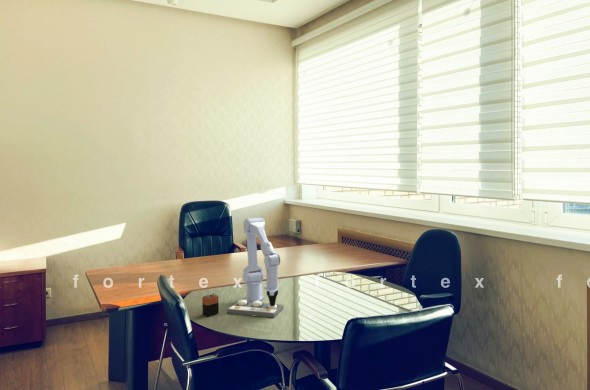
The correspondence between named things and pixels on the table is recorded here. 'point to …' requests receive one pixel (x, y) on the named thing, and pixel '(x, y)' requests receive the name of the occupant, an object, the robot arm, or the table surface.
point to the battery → (210, 305)
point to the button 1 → (242, 302)
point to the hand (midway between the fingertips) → (272, 305)
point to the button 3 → (272, 307)
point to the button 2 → (257, 304)
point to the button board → (255, 310)
